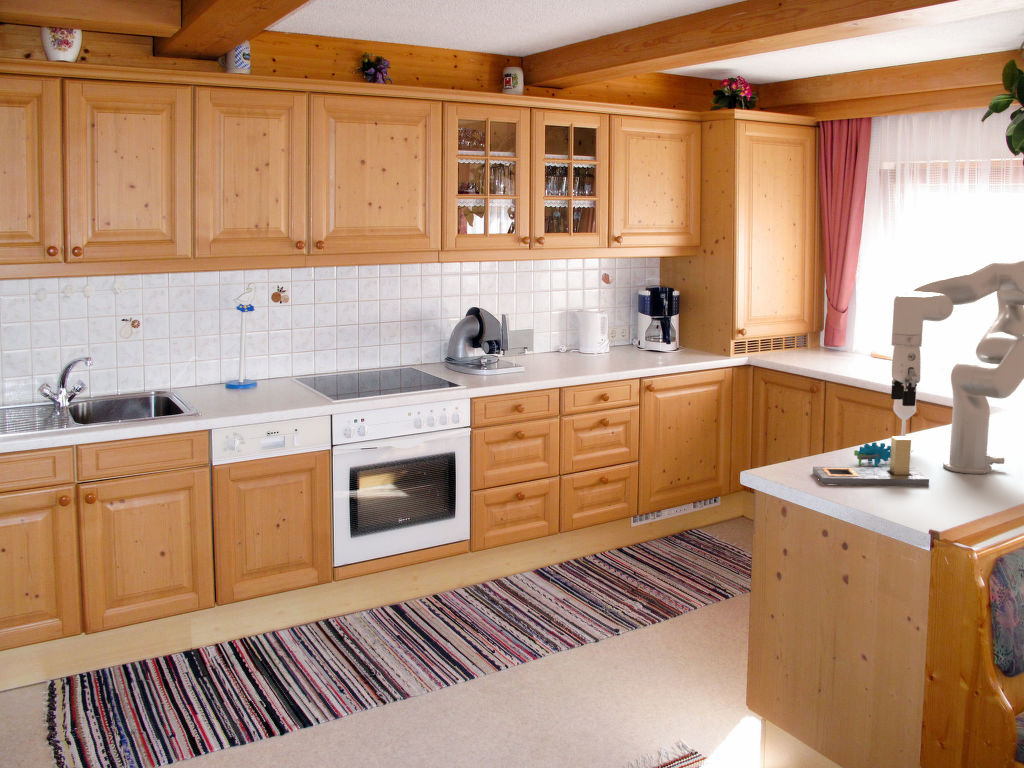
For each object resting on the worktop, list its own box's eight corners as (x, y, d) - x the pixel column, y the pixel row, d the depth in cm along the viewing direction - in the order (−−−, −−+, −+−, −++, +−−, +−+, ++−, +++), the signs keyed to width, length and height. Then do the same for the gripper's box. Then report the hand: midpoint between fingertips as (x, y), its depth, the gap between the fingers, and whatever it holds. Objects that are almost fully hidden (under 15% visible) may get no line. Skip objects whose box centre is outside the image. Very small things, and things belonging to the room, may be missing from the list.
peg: (904, 478, 258) (906, 436, 256) (908, 482, 254) (911, 439, 252) (889, 478, 259) (891, 436, 257) (893, 482, 255) (896, 439, 253)
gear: (896, 457, 274) (892, 439, 267) (896, 475, 271) (892, 457, 264) (857, 459, 279) (852, 441, 272) (856, 476, 276) (851, 458, 269)
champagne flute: (904, 446, 295) (908, 372, 291) (918, 451, 288) (923, 375, 284) (886, 448, 293) (890, 373, 289) (900, 452, 287) (904, 376, 283)
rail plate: (914, 474, 262) (914, 467, 262) (928, 486, 250) (929, 478, 250) (812, 473, 265) (813, 466, 264) (822, 485, 253) (822, 477, 252)
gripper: (932, 344, 241) (927, 408, 244) (910, 336, 258) (906, 396, 261) (902, 344, 242) (898, 408, 245) (882, 336, 259) (879, 396, 262)
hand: (902, 402), depth 253 cm, fingers open, 9 cm apart
